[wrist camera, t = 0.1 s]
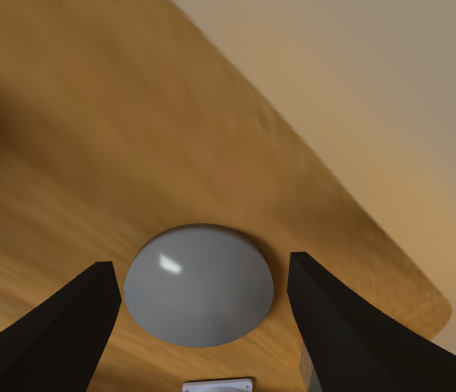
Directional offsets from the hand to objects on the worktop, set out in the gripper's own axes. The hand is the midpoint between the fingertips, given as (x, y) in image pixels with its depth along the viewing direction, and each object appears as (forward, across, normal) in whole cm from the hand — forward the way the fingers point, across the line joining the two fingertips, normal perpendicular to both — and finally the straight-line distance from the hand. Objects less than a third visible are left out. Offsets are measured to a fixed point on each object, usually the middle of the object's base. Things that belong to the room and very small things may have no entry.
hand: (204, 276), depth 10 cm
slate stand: (+10, +1, +10) cm, 14 cm away
